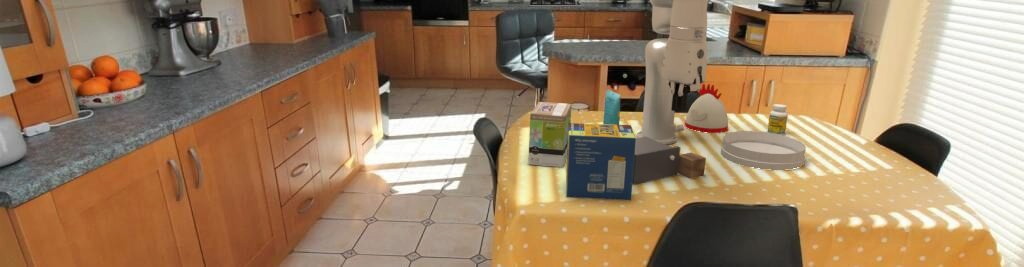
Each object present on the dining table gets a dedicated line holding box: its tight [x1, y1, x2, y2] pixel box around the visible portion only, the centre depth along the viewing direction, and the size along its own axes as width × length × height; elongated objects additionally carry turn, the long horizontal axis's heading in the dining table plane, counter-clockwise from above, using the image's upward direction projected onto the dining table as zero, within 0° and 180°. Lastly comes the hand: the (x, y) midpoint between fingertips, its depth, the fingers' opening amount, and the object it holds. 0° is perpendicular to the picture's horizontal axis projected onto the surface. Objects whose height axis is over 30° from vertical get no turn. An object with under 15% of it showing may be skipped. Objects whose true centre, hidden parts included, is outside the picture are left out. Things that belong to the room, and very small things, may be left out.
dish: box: [720, 130, 807, 171], centre depth 158 cm, size 22×22×5 cm
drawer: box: [632, 145, 681, 185], centre depth 144 cm, size 12×15×8 cm
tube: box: [602, 89, 622, 125], centre depth 154 cm, size 7×5×19 cm, turn 26°
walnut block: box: [678, 152, 707, 180], centre depth 144 cm, size 5×5×5 cm
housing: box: [635, 137, 672, 154], centre depth 146 cm, size 12×15×7 cm
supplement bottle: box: [766, 103, 789, 136], centre depth 181 cm, size 5×5×10 cm
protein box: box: [565, 122, 637, 201], centre depth 132 cm, size 10×15×16 cm
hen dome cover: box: [684, 83, 729, 134], centre depth 187 cm, size 14×14×15 cm
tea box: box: [527, 101, 572, 168], centre depth 155 cm, size 15×10×15 cm, turn 168°
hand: (678, 110), depth 133 cm, fingers closed
